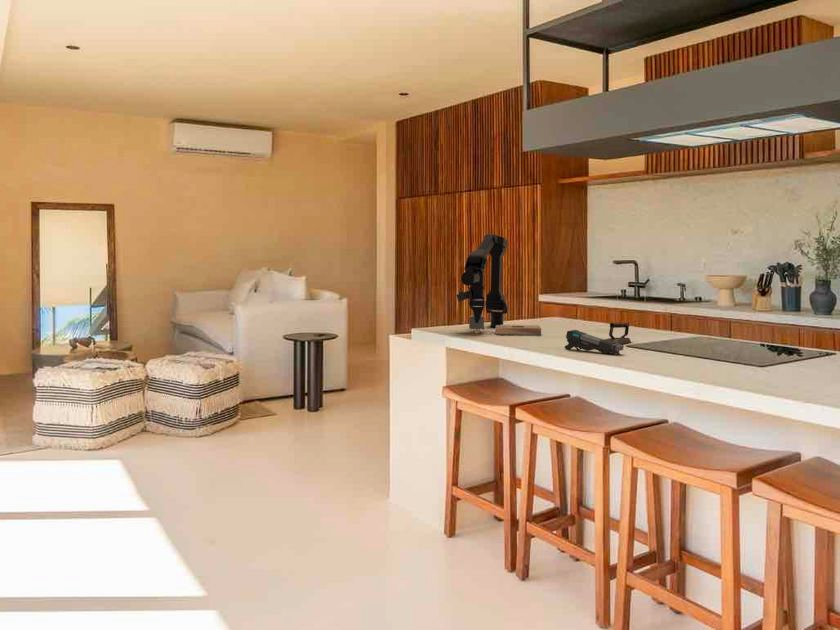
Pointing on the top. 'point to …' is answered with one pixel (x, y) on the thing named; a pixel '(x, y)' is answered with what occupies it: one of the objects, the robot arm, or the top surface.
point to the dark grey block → (476, 324)
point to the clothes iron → (622, 339)
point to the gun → (591, 343)
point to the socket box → (518, 330)
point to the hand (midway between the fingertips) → (476, 321)
